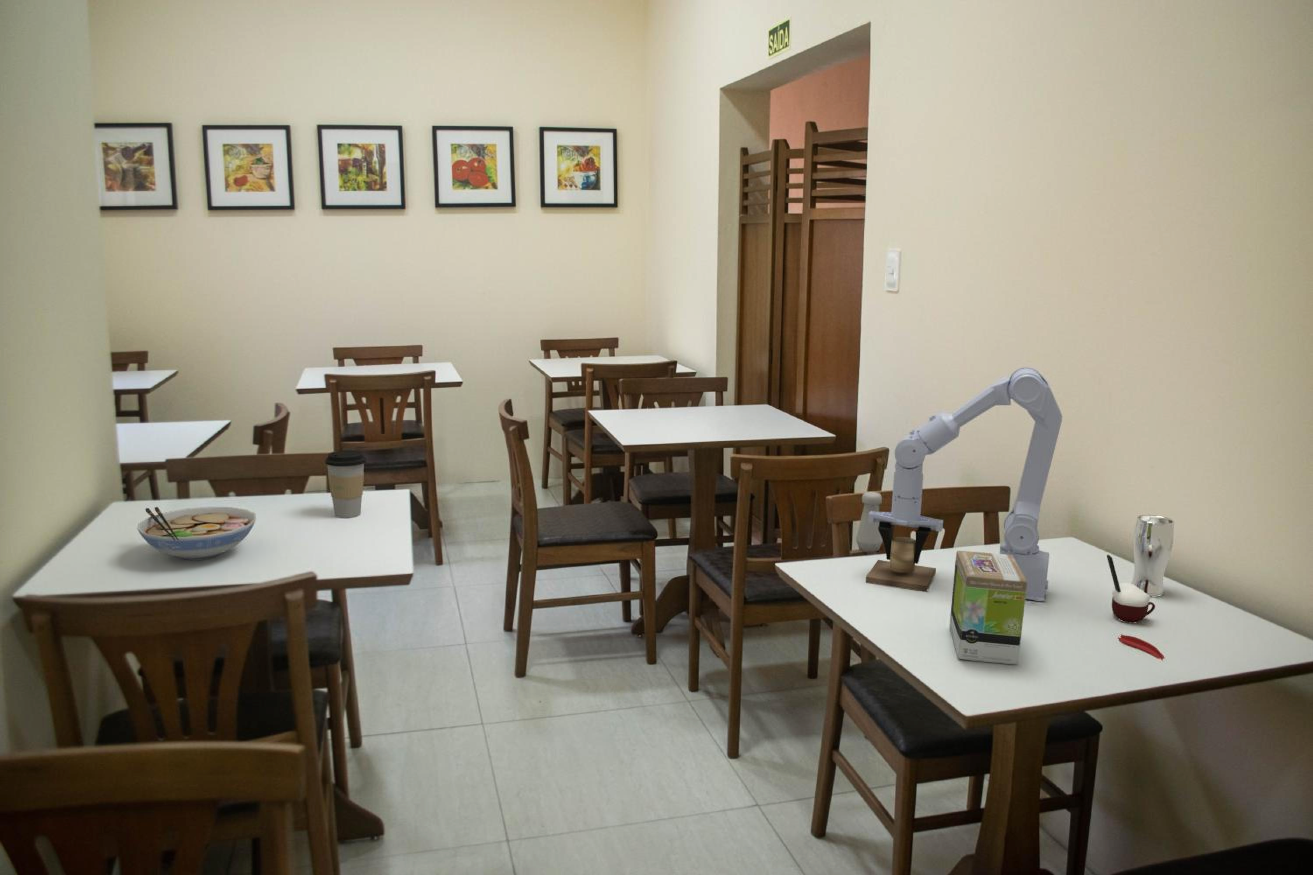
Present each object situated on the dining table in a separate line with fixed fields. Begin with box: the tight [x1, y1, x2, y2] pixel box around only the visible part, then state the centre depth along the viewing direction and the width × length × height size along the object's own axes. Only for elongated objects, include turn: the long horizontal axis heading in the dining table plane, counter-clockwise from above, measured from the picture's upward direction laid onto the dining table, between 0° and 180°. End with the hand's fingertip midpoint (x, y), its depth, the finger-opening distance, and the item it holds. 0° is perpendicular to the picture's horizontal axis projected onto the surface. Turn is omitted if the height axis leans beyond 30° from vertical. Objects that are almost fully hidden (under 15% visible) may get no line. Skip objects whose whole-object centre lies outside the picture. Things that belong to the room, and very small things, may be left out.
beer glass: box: [1130, 514, 1175, 596], centre depth 203 cm, size 7×7×15 cm
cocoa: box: [1106, 554, 1156, 624], centre depth 189 cm, size 10×6×12 cm, turn 67°
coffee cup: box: [324, 449, 367, 519], centre depth 245 cm, size 9×9×15 cm
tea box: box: [949, 550, 1027, 665], centre depth 175 cm, size 15×10×15 cm, turn 170°
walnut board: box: [865, 559, 937, 593], centre depth 210 cm, size 12×12×1 cm
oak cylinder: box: [889, 536, 916, 573], centre depth 208 cm, size 5×5×6 cm
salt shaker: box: [855, 491, 883, 553], centre depth 227 cm, size 6×6×13 cm
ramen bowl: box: [137, 506, 257, 561], centre depth 214 cm, size 25×23×8 cm
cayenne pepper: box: [1117, 634, 1166, 662], centre depth 177 cm, size 12×5×2 cm, turn 2°
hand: (902, 560), depth 209 cm, fingers closed on oak cylinder, 5 cm apart
